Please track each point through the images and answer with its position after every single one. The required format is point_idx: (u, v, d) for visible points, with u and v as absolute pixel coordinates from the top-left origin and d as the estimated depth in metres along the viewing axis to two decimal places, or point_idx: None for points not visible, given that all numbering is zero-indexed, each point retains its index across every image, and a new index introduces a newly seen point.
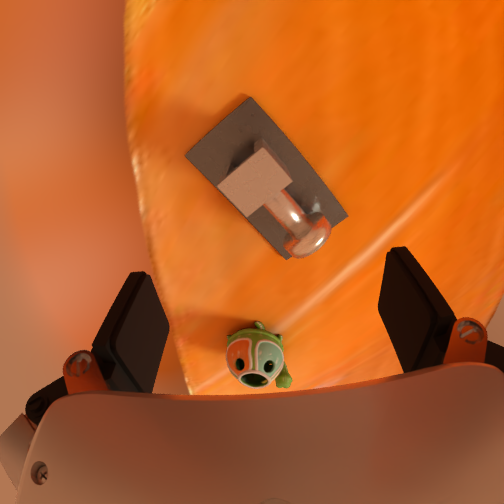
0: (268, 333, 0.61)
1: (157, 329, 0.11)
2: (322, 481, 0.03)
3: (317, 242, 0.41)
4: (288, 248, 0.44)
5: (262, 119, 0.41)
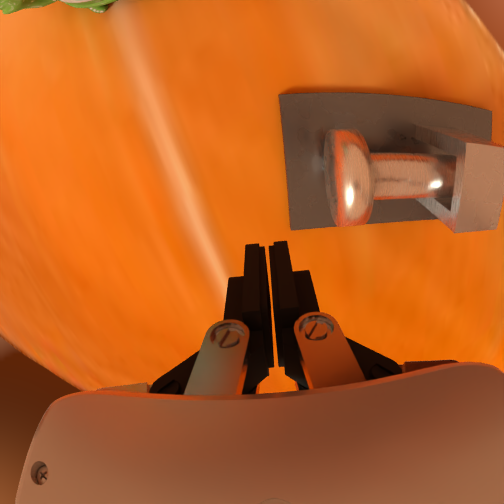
0: None
1: (269, 301, 0.11)
2: (322, 481, 0.03)
3: (358, 208, 0.20)
4: None
5: None
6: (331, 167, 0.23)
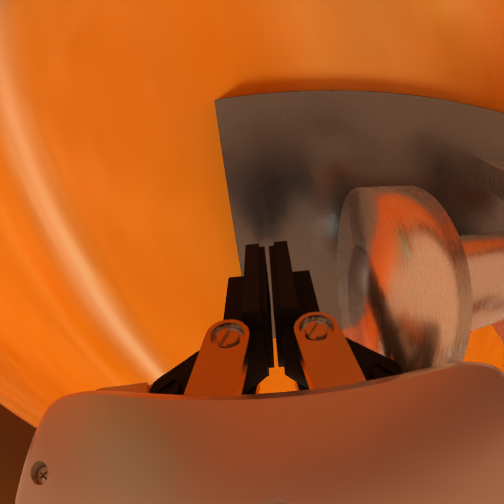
0: None
1: (269, 301, 0.11)
2: (322, 481, 0.03)
3: None
4: None
5: None
6: (357, 272, 0.10)
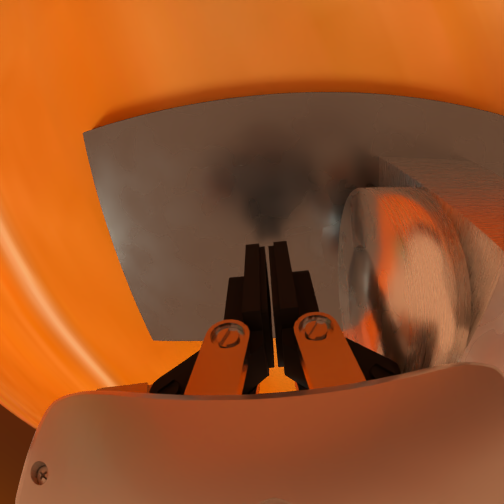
0: None
1: None
2: (322, 481, 0.03)
3: None
4: None
5: None
6: (357, 271, 0.10)
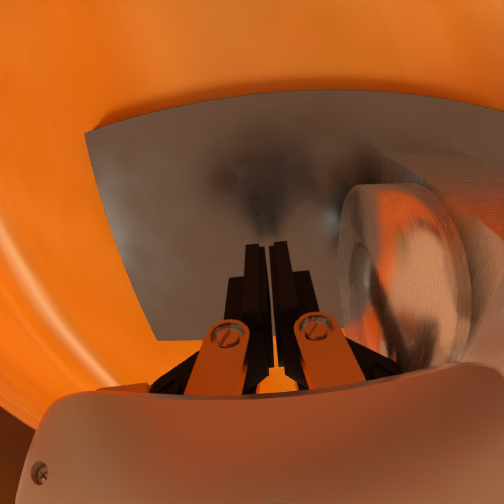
0: None
1: (269, 301, 0.11)
2: (322, 481, 0.03)
3: None
4: None
5: None
6: (358, 268, 0.10)
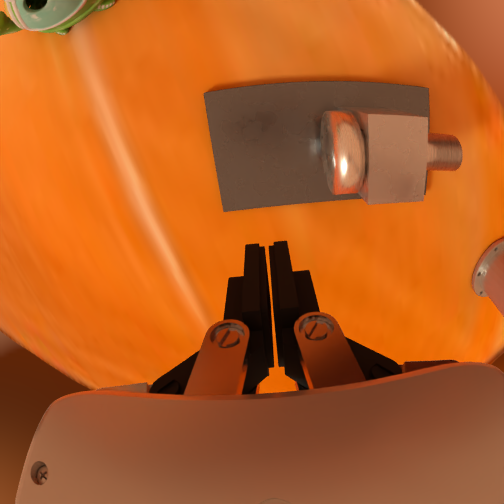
0: (86, 14, 0.18)
1: (269, 301, 0.11)
2: (322, 481, 0.03)
3: (352, 175, 0.22)
4: None
5: None
6: (327, 144, 0.26)
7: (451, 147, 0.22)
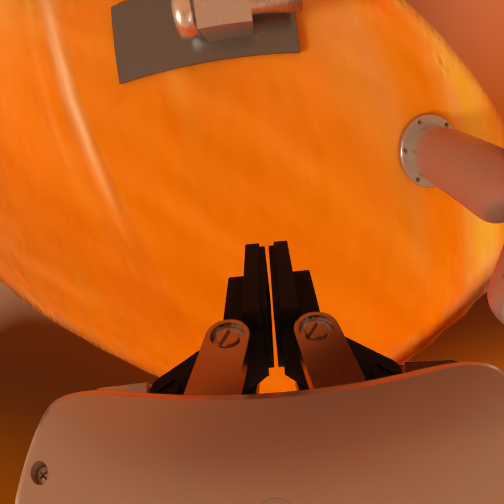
0: None
1: (269, 301, 0.11)
2: (322, 481, 0.03)
3: (180, 11, 0.22)
4: None
5: (270, 46, 0.31)
6: None
7: None
